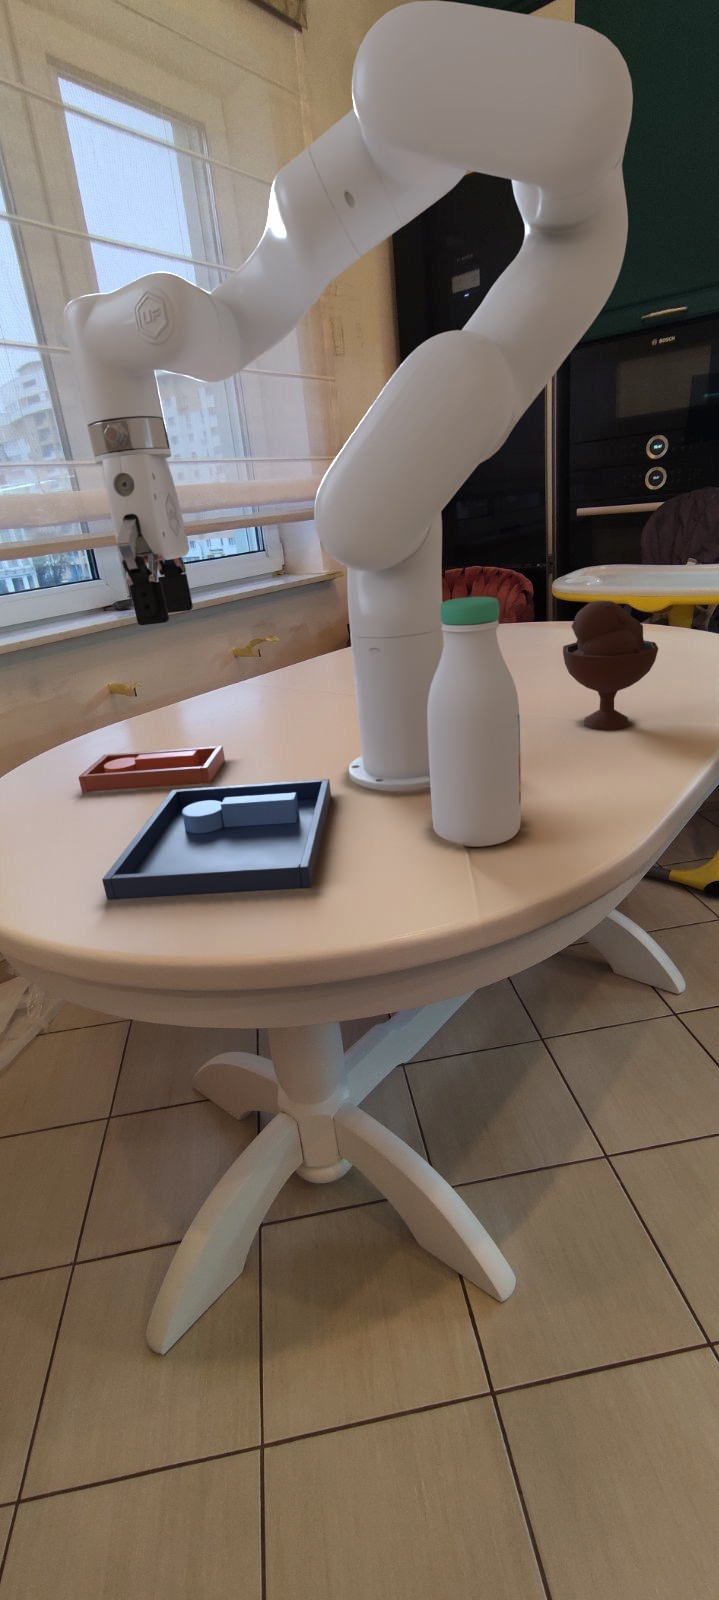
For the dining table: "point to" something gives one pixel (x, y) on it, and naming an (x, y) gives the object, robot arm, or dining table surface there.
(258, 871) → the navy tray
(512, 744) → the milk bottle
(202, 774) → the terracotta tray
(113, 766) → the red spoon
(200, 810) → the blue spoon
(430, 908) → the dining table surface
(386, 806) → the dining table surface
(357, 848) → the dining table surface
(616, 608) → the ice cream bowl
